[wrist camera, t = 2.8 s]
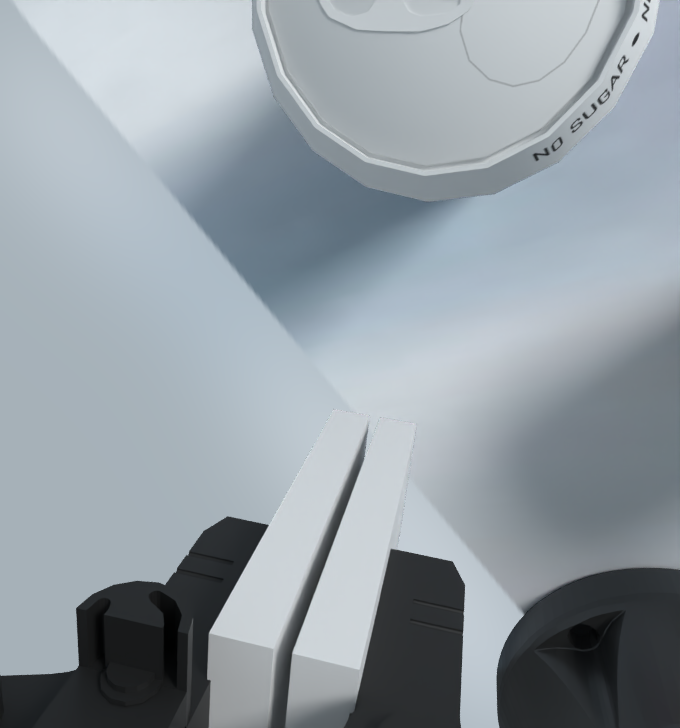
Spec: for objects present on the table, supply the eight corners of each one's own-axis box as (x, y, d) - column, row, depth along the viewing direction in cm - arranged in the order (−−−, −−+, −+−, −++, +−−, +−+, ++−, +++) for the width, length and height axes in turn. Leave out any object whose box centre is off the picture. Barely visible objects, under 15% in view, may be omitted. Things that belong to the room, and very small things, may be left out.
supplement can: (588, -58, 23) (745, -352, 9) (555, 179, 26) (637, 221, 12) (367, -55, 25) (220, -306, 11) (357, 169, 28) (229, 197, 14)
